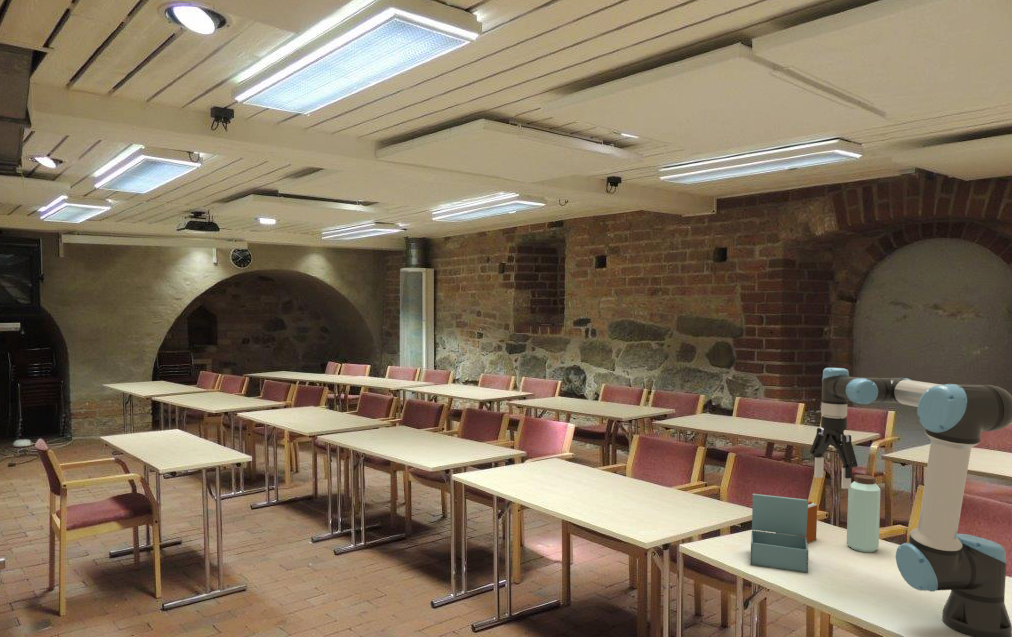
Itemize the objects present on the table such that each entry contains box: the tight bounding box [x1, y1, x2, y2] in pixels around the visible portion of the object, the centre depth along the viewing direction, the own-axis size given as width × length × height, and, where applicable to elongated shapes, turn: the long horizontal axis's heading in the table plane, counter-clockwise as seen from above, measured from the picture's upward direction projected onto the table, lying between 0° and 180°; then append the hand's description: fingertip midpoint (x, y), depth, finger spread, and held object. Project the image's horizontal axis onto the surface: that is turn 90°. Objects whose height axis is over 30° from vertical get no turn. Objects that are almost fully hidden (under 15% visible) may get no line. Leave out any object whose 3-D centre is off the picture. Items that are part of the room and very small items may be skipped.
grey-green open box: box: [750, 529, 809, 573], centre depth 228 cm, size 14×17×7 cm
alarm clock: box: [777, 500, 818, 544], centre depth 250 cm, size 15×8×14 cm, turn 130°
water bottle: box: [846, 474, 881, 553], centre depth 243 cm, size 10×10×25 cm
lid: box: [751, 493, 809, 536], centre depth 233 cm, size 14×17×1 cm
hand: (831, 482), depth 223 cm, fingers open, 13 cm apart
